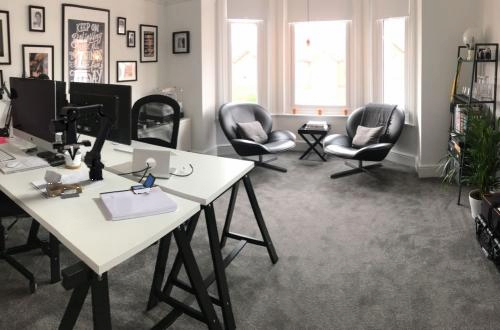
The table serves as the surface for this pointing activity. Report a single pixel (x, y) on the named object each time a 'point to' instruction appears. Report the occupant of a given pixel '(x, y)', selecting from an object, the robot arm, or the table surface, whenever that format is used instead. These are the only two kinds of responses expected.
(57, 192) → the tunnel
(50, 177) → the die
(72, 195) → the pit mat
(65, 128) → the robot arm
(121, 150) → the table surface
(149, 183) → the handheld game console
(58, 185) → the walnut block
